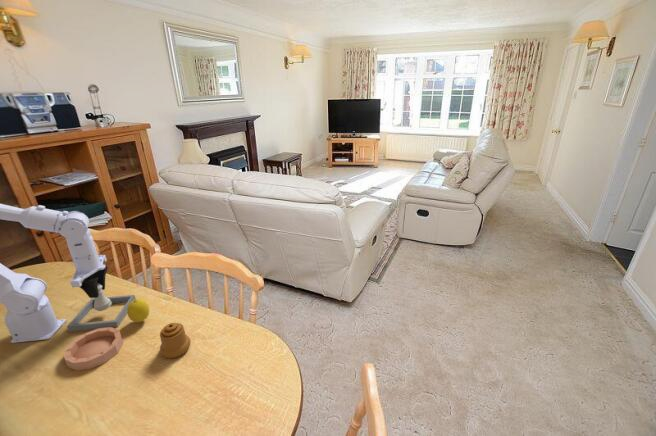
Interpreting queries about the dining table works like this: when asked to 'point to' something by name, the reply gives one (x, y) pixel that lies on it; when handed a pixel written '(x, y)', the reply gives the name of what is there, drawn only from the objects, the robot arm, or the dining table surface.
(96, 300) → the rook chess piece
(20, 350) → the dining table surface
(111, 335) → the bowl
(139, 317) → the lemon
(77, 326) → the grey square frame
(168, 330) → the ornamental finial
